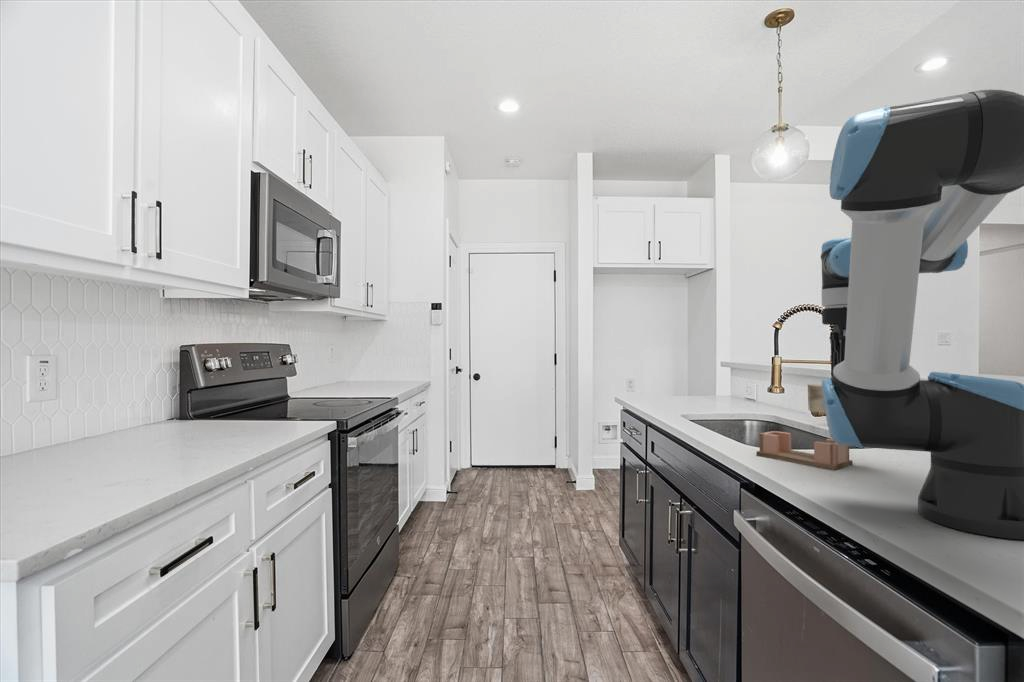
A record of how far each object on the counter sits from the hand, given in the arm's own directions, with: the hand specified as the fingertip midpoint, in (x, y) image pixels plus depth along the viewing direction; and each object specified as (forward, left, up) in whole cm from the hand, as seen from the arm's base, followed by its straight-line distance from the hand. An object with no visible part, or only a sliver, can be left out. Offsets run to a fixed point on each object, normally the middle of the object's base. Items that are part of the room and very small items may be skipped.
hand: (842, 408), depth 112 cm
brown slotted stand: (-1, +9, -12) cm, 15 cm away
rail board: (-1, +9, -13) cm, 16 cm away
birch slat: (0, 0, -1) cm, 1 cm away
